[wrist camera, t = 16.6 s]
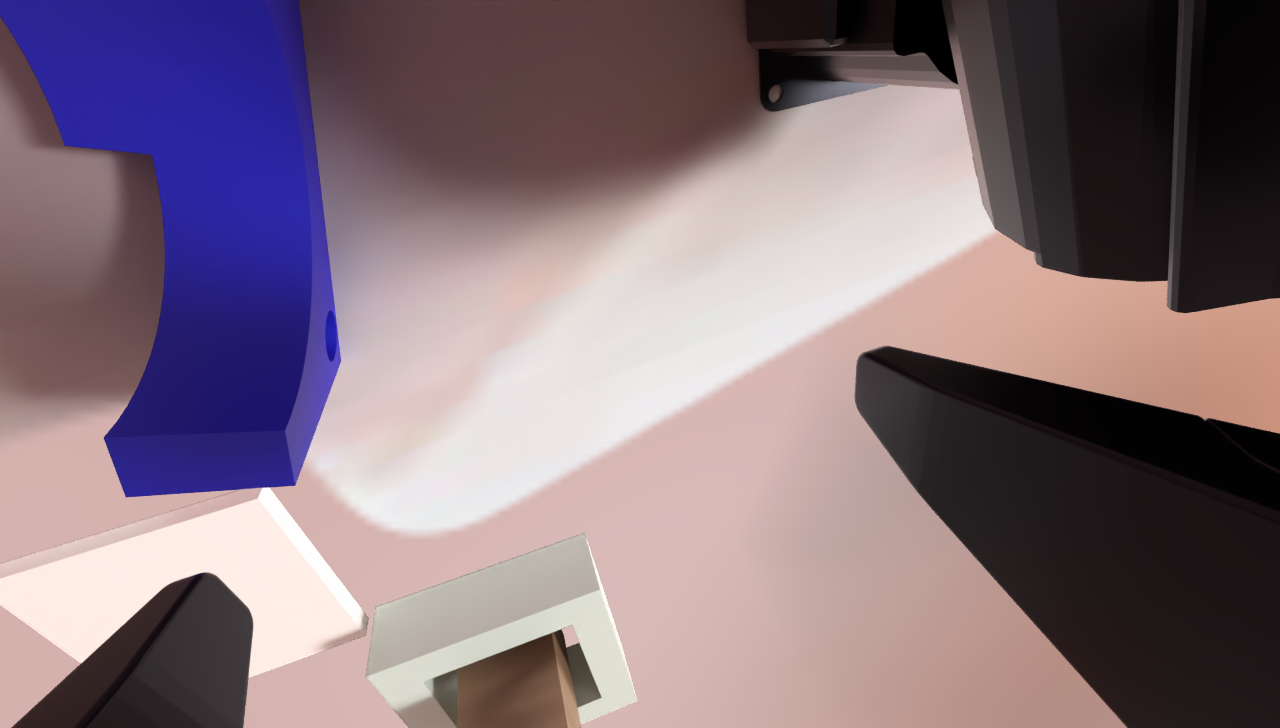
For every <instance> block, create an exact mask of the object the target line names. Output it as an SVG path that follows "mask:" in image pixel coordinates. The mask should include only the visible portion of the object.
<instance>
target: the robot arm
mask: <svg viewBox="0 0 1280 728" xmlns="http://www.w3.org/2000/svg"><path fill="white" fill-rule="evenodd" d="M746 17H747V38H748V42H749V43H750V44H751V45H752V46H753V47H754V48H755V49H758V56H759V83H760V99H761V104H762V105H763V107H764V108H765V109H767V110H768V111H780V110H784V109H788V108H793V107H797V106H801V105H805V104H810V103H814V102H818V101H822V100H827V99H831V98H835V97H839V96H844V95H848V94H852V93H856V92H861V91H865V90H869V89H873V88H878V87H882V86H886V85H902V86H917V87H932V88H947V89H960V94H961V99H962V104H963V109H964V114H965V119H966V124H967V129H968V134H969V139H970V144H971V149H972V153H973V162H974V167H975V172H976V175H977V178H978V183H979V188H980V193H981V198H982V203H983V206H984V208H985V210H986V212H987V214H988V216H989V218H990V220H991V222H992V224H993V226H994V228H995V229H996V230H998V231H999V232H1001V233H1002V234H1004V235H1006V236H1007V237H1009V238H1010V239H1012V240H1013V241H1015V242H1016V243H1018V244H1019V245H1021V246H1022V247H1024V248H1025V249H1028V250H1030V251H1033V252H1034V257H1035V261H1036V263H1037V264H1038V265H1040V266H1041V267H1043V268H1047V269H1052V270H1056V271H1060V272H1064V273H1068V274H1072V275H1076V276H1081V277H1088V278H1099V279H1112V280H1125V281H1136V282H1145V281H1147V282H1148V281H1168V291H1167V306H1168V307H1169V309H1170V310H1173V311H1175V312H1180V313H1189V312H1197V311H1202V310H1208V309H1213V308H1219V307H1225V306H1230V305H1236V304H1242V303H1247V302H1253V301H1259V300H1265V299H1270V298H1271V299H1272V298H1280V0H746ZM774 85H779V86H780V87H781V90H782V95H781V98H780V99H779V101H777V102H775V103H772V102H771V101H770V100H769V97H768V95H769V90H770V89H771V87H772V86H774ZM855 402H856V405H857V409H858V411H859V412H860V414H861V416H862V417H863V418H864V420H865V421H866V422H867V424H868V425H869V427H870V428H871V429H872V431H873V432H874V434H875V435H876V436H877V438H878V439H879V440H880V442H881V443H882V445H883V446H884V447H885V449H886V450H887V452H888V453H889V454H890V456H891V457H892V458H893V460H894V461H895V463H896V464H897V465H898V467H899V468H900V469H901V471H902V472H903V474H904V475H905V476H906V478H907V479H908V480H909V482H910V483H911V484H912V486H913V487H914V488H915V490H916V491H917V492H918V493H919V494H920V496H921V497H922V498H923V499H924V500H925V501H926V503H927V504H928V505H929V506H930V507H931V508H932V510H933V511H934V512H935V513H936V514H937V515H938V516H939V517H940V519H941V520H943V522H944V523H945V524H946V525H947V526H948V528H950V530H951V531H952V532H953V533H954V534H955V535H956V536H957V538H958V539H959V540H960V541H961V542H962V543H963V544H964V545H965V546H966V548H967V549H968V550H969V551H970V552H971V553H972V554H973V556H974V557H975V558H976V559H977V560H978V561H979V562H980V563H981V564H982V566H983V567H984V568H985V569H986V570H987V571H988V572H989V573H990V574H991V576H992V577H993V578H994V579H995V580H996V581H997V582H998V584H999V585H1000V586H1001V587H1002V588H1003V589H1004V590H1005V591H1006V592H1007V593H1008V595H1009V596H1010V597H1011V598H1012V599H1013V600H1014V601H1015V603H1016V604H1017V605H1018V606H1019V607H1020V608H1021V609H1022V610H1023V612H1024V613H1025V614H1026V615H1027V616H1028V617H1029V618H1030V619H1031V620H1032V622H1033V623H1034V624H1035V625H1036V626H1037V627H1038V628H1039V629H1040V631H1041V632H1042V633H1043V634H1044V635H1045V636H1046V637H1047V638H1048V640H1049V641H1050V642H1051V643H1052V644H1053V645H1054V646H1055V647H1056V648H1057V649H1058V651H1059V652H1060V653H1061V654H1062V655H1063V656H1064V657H1065V658H1066V660H1067V661H1068V662H1069V663H1070V664H1071V665H1072V666H1073V667H1074V669H1075V670H1076V671H1077V672H1078V673H1079V674H1080V675H1081V676H1082V678H1083V679H1084V680H1085V681H1086V682H1087V683H1088V684H1089V685H1090V687H1091V688H1092V689H1093V690H1094V691H1095V692H1096V693H1097V694H1098V696H1099V697H1100V698H1101V699H1102V700H1103V701H1104V702H1105V703H1106V705H1107V706H1108V707H1109V708H1110V709H1111V710H1112V711H1113V712H1114V713H1115V715H1116V716H1117V717H1118V718H1119V719H1120V720H1121V721H1122V722H1123V724H1124V725H1125V726H1126V727H1127V728H1280V434H1279V433H1274V432H1270V431H1265V430H1260V429H1256V428H1251V427H1247V426H1242V425H1238V424H1234V423H1229V422H1225V421H1220V420H1216V419H1211V418H1208V419H1205V420H1204V419H1203V418H1202V417H1200V416H1197V415H1193V414H1189V413H1184V412H1180V411H1175V410H1171V409H1166V408H1162V407H1157V406H1153V405H1149V404H1144V403H1140V402H1135V401H1131V400H1126V399H1122V398H1117V397H1113V396H1108V395H1104V394H1100V393H1095V392H1091V391H1086V390H1082V389H1077V388H1073V387H1069V386H1064V385H1059V384H1055V383H1051V382H1046V381H1042V380H1038V379H1033V378H1028V377H1024V376H1019V375H1015V374H1011V373H1006V372H1002V371H998V370H993V369H989V368H984V367H979V366H975V365H971V364H966V363H962V362H957V361H953V360H949V359H944V358H940V357H935V356H931V355H927V354H922V353H918V352H913V351H908V350H904V349H900V348H895V347H891V346H882V347H878V348H875V349H872V350H869V351H867V352H864V353H862V354H861V355H860V356H859V357H858V360H857V366H856V383H855ZM252 637H253V618H252V614H251V612H250V610H249V608H248V607H247V606H246V605H245V604H244V603H243V602H242V601H241V600H240V599H239V598H238V597H237V596H236V595H235V594H234V592H233V591H232V590H231V589H230V588H229V587H228V586H227V585H226V584H225V583H224V582H223V581H222V580H221V579H220V578H219V577H217V576H216V575H215V574H212V573H209V572H204V573H198V574H195V575H192V576H189V577H186V578H183V579H180V580H177V581H175V582H172V583H170V584H168V585H167V586H165V587H164V588H163V589H161V590H160V591H159V592H158V593H157V594H156V595H155V596H154V597H153V598H152V599H151V600H149V601H148V602H147V603H146V604H145V605H144V606H143V607H142V608H141V609H140V610H139V611H138V612H136V613H135V614H134V615H133V616H132V617H131V618H130V619H129V620H128V621H127V622H126V623H125V624H123V625H122V626H121V627H120V628H119V629H118V630H117V631H116V632H115V633H114V634H113V635H111V636H110V637H109V638H108V639H107V640H106V641H105V642H104V643H103V644H102V645H101V646H100V647H98V648H97V649H96V650H95V651H94V652H93V653H92V654H91V655H90V656H89V657H88V658H87V659H85V660H84V661H83V662H82V663H81V664H80V665H79V666H78V667H77V668H76V669H75V670H73V671H72V672H71V673H70V674H69V675H68V676H67V677H66V678H65V679H64V680H63V681H62V682H61V683H60V684H58V685H57V686H56V687H55V688H54V689H53V690H52V691H51V692H50V693H49V694H47V695H46V696H45V697H44V698H43V699H42V700H41V701H40V702H39V703H38V704H37V705H35V707H34V708H32V709H31V710H30V711H29V712H28V713H27V714H26V715H25V716H24V717H23V718H21V719H20V720H19V721H18V722H17V723H16V724H15V725H14V726H13V727H12V728H243V725H244V715H245V705H246V696H247V686H248V676H249V667H250V657H251V647H252Z"/></svg>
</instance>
